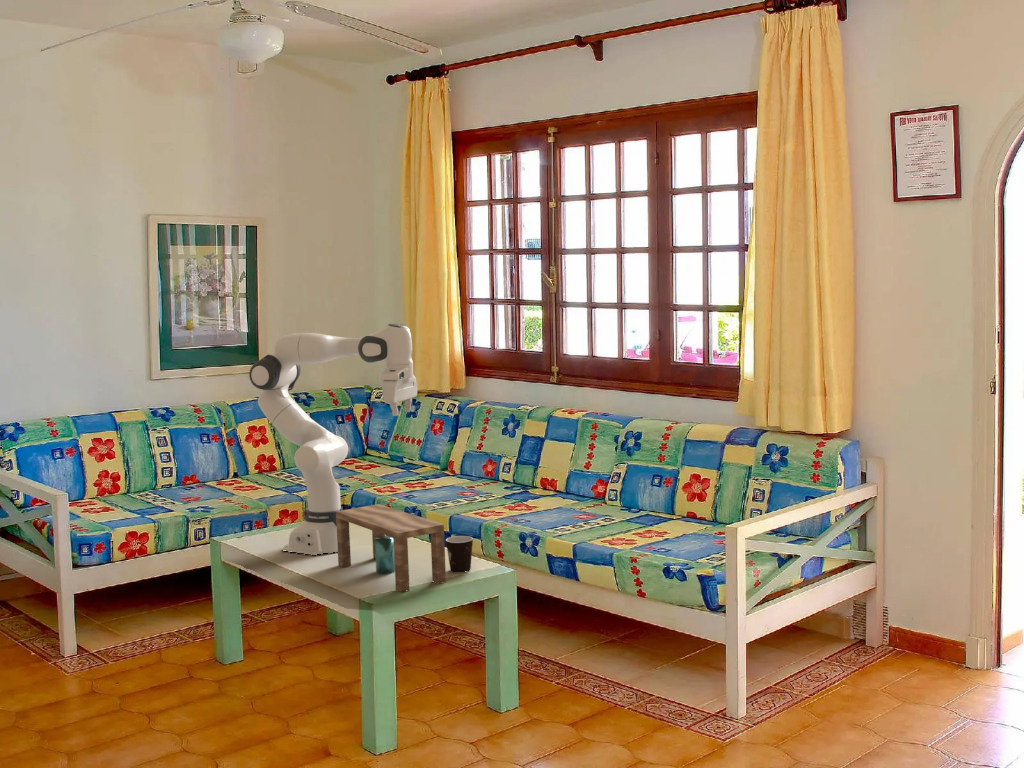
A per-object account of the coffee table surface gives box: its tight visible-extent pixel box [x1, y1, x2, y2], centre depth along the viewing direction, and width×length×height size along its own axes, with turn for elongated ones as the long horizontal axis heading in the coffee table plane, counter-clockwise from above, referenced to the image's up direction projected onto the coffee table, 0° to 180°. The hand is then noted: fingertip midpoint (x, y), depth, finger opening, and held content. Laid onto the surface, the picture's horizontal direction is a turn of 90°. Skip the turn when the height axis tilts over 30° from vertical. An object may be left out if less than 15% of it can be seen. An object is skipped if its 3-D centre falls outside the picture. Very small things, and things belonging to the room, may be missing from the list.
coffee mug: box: [445, 535, 474, 573], centre depth 339 cm, size 12×9×10 cm
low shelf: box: [336, 503, 447, 593], centre depth 339 cm, size 16×40×18 cm, turn 36°
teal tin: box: [375, 535, 395, 575], centre depth 342 cm, size 6×6×11 cm
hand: (401, 413), depth 358 cm, fingers open, 8 cm apart
